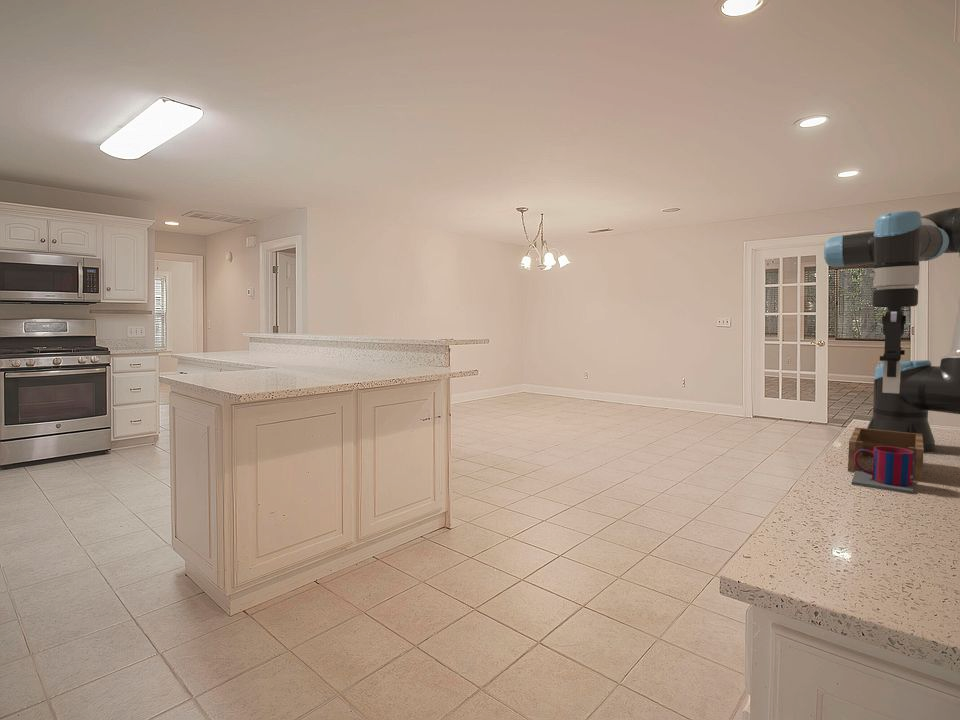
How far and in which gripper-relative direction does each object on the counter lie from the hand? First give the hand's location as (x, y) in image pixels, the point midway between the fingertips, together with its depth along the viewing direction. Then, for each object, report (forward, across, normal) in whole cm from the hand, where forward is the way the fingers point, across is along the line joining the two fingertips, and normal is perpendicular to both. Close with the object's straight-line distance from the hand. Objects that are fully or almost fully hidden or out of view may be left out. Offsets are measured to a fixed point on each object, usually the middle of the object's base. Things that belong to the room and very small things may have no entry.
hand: (891, 388), depth 112 cm
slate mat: (+20, +4, -1) cm, 20 cm away
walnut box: (+20, -12, -1) cm, 23 cm away
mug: (+19, +4, -1) cm, 20 cm away
